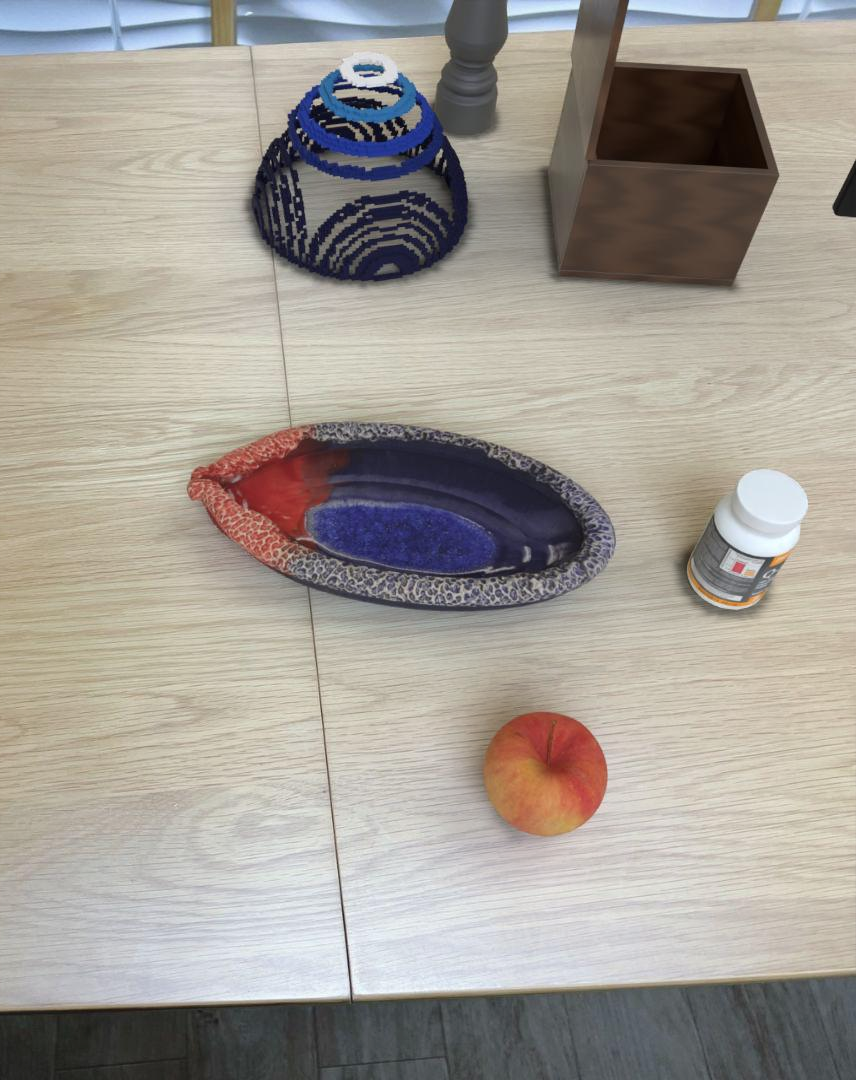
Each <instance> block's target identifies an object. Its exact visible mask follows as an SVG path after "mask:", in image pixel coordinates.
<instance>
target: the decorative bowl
mask: <svg viewBox="0 0 856 1080" xmlns="http://www.w3.org/2000/svg"><path fill="white" fill-rule="evenodd" d="M361 63H365V64H361ZM399 71H400V70H399V68H398V66H397V64H396V62H395V60H394V59H391V58H390V56H389V55H388V54H385V53H378V52H371V51H362V52H354V53H351V55H349V57H342V58H341V63H340V65H338V68H337V69H334V71H330V72H329V73H328V74H327V75H325V77H323V78H322V79H320V83H319V84H316V85H315V86H311V90H309V91H306V92H305V93H304V97H302V99H300V101H299V103H297V105H295V108H294V109H290V113H287V119H288V120H287V121H286V125H287V128H286V129H285V130H284V132H282V133H280V134H281V135H280V137H275V138H273V140H272V141H271V142H270V143H269V145H268V146H267V147H268V148H267V149H266V151H265V153H264V155H263V156H262V161H261V162H260V165H259V166H258V168H257V169H258V170H257V171H256V175H255V182H254V193H253V194H252V198H251V209H252V212H253V215H254V219H255V222H256V224H257V227H258V230H259V233H260V237H261V239H262V241H263V240H265V242H266V245H267V246H270V249H274V252H275V254H279V257H280V258H282V257H283V259H286V261H287V262H288V263H289V262H290V263H291V264H294V265H295V266H296V265H297V267H298V269H303V268H304V269H305V270H308V272H309V273H310V274H311V273H315V274H317V275H318V274H319V276H323V278H326V277H329V278H330V279H332V278H335V279H336V280H339V281H348V280H351V281H352V282H355V281H361V282H362V283H363V282H370V281H373V282H374V283H376V282H381V281H388V280H389V281H390V280H396V279H397V280H398V279H403V278H404V276H410V275H414V273H417V272H422V270H424V269H428V268H432V266H434V264H435V263H436V264H437V263H438V262H439V261H442V260H443V259H444V258H445V257H446V256H447V254H450V253H452V251H453V250H454V247H456V246H458V244H459V243H460V239H461V238H462V236H463V235H464V231H465V229H466V225H467V224H468V219H469V218H468V214H469V213H468V212H469V208H468V205H469V195H468V190H467V189H468V188H467V181H466V180H465V179H466V177H465V171H464V169H463V168H462V165H461V161H460V158H459V156H458V154H457V152H456V150H455V149H454V148H453V146H452V144H451V142H450V141H449V138H448V136H447V134H444V131H445V130H444V129H443V127H442V125H441V123H440V121H439V119H438V117H437V116H436V114H435V112H434V110H433V109H432V108H431V105H430V103H429V102H428V100H427V98H426V96H424V95H423V94H422V93H421V91H420V92H419V91H418V90H417V87H416V85H415V83H414V81H410V80H409V78H408V77H407V76H404V74H403V72H399ZM359 72H373V73H364V74H361V73H359ZM375 73H380V74H375ZM339 83H343V84H339ZM344 83H345V84H344ZM390 85H392V87H391V86H390ZM394 87H395V88H394ZM353 89H357V90H359V91H368V92H373V91H374V92H375V93H378V94H385V93H387V94H388V95H391V96H396V95H397V97H398V98H399V99H397V101H395V103H393V105H388V104H383V101H382V100H376V99H375V98H374V97H373V98H366V97H358V96H357V95H355V96H347V97H337V95H334V94H336V93H337V91H344V90H345V91H346V90H353ZM319 99H321V101H322V102H320V104H314V101H316V100H319ZM415 106H417V107H419V108H420V110H421V112H420V116H421V117H420V121H417V122H416V124H415V127H413V128H410V129H409V128H408V125H407V124H406V120H405V119H403V117H404V115H405V114H407V115H408V114H409V112H411V110H413V108H415ZM393 121H394V122H393ZM361 122H363V124H365V125H366V126H368V128H370V129H371V130H372V135H371V133H370V132H368V128H366V127H365V126H363V124H361ZM381 123H383V125H384V126H385V129H386V130H387V131H388V132H389V133H390V137H392V138H389V137H388V135H386V134H385V133H383V132H384V127H383V126H381ZM343 124H347V125H343ZM348 124H349V125H348ZM334 125H335V126H334ZM336 125H338V126H336ZM339 125H340V126H339ZM394 125H396V126H397V127H399V129H402V130H401V132H400V131H399V130H398V129H396V126H394ZM328 126H331V127H328ZM349 126H351V127H349ZM351 128H353V129H354V130H358V134H361V136H363V140H358V138H356V135H357V133H356V131H354V130H353V129H351ZM298 129H301V130H299V132H297V131H298ZM399 132H400V133H399ZM399 134H400V135H399ZM373 137H374V140H373ZM311 141H312V143H311ZM290 143H291V146H289V144H290ZM308 146H309V149H308ZM413 149H414V150H413ZM441 150H442V152H441ZM326 151H327V152H328V151H329V152H333V153H334V154H335V153H340V154H344V156H349V155H350V156H351V157H356V156H357V157H358V158H365V157H367V158H368V159H372V158H380V157H388V156H399V157H404V158H406V159H405V161H401V162H400V166H397V164H389V165H383V166H375V167H371V170H366V167H365V166H360V167H359V165H352V164H343V165H340V164H339V163H338V161H337V162H335V161H334V162H328V159H321V158H320V155H319V154H324V153H325V152H326ZM413 151H414V155H413ZM419 152H420V153H419ZM297 153H298V155H296V154H297ZM440 153H441V157H440V158H438V163H437V166H435V165H436V160H437V156H438V154H440ZM278 157H279V159H278ZM298 160H304V164H305V165H308V166H309V167H313V168H316V169H317V171H318V172H319V171H320V172H321V173H325V174H327V175H329V176H332V177H333V178H334V177H339V179H340V178H343V180H351V179H353V181H357V180H359V181H360V182H364V181H365V182H366V181H369V182H370V183H373V182H380V181H387V180H395V179H401V178H402V177H403V176H409V175H410V173H417V172H418V170H419V171H420V170H422V169H423V168H425V167H426V168H427V169H430V171H431V172H434V174H435V175H436V176H439V177H440V178H443V181H444V182H445V184H446V186H447V188H448V189H450V190H451V192H453V194H451V198H450V201H451V202H452V207H451V209H452V211H453V212H452V214H451V218H452V220H451V219H450V218H449V216H450V212H449V211H447V210H446V209H445V208H444V207H440V205H439V203H437V202H436V200H432V197H431V196H428V197H427V193H426V192H420V193H419V192H418V191H417V190H416V191H410V190H409V189H404V190H399V191H398V192H396V193H389V194H382V195H374V196H371V195H370V194H367V195H361V196H360V197H359V198H356V199H354V201H353V203H354V204H352V202H346V203H344V205H343V206H341V208H340V209H335V212H332V215H329V218H326V220H325V221H323V223H322V224H320V226H317V232H314V236H313V237H311V238H310V240H311V241H310V242H308V245H307V247H308V252H306V240H309V237H308V229H307V227H305V226H308V225H307V224H308V223H307V218H306V213H305V211H306V209H305V208H306V206H305V202H304V201H305V200H304V199H303V191H302V188H300V187H299V188H298V183H300V177H299V172H298V170H297V168H296V169H294V168H293V165H292V164H293V163H294V162H298ZM444 164H446V165H445V167H444ZM284 168H288V169H289V174H290V178H291V181H292V187H293V192H294V195H293V196H292V191H291V188H290V184H289V178H288V175H287V174H284V173H283V170H282V169H284ZM443 169H444V170H443ZM276 173H277V174H278V175H279V181H280V183H279V184H278V181H277V178H276V176H275V174H276ZM268 183H269V188H270V191H271V197H272V202H273V206H271V207H270V202H269V196H268V193H267V191H266V185H267V184H268ZM283 185H284V186H285V187H283ZM277 191H279V192H277ZM261 194H262V196H261ZM261 197H263V200H264V204H265V205H264V206H265V211H266V215H267V224H268V230H269V231H268V233H269V235H268V233H267V229H265V227H266V226H265V225H266V224H265V218H264V214H263V213H264V212H263V207H262V205H261V203H260V200H261ZM412 197H413V198H412ZM297 199H299V201H297ZM404 200H405V203H406V204H411V205H412V206H417V208H422V207H423V208H424V207H425V211H426V212H428V214H432V213H433V215H434V216H435V220H440V224H439V223H436V222H435V221H434V220H433V219H431V218H430V217H428V215H425V212H424V211H418V210H417V209H411V205H405V204H404V203H402V201H404ZM280 201H281V202H280ZM279 202H280V203H281V206H282V211H283V218H284V223H285V224H287V225H284V226H285V228H284V229H285V235H283V230H282V223H281V216H280V211H279ZM396 203H402V204H396ZM388 204H390V205H388ZM391 204H393V205H391ZM291 205H293V211H294V212H291V211H292V210H291ZM366 205H374V206H380V207H372V208H368V210H367V211H363V210H366V209H367V207H366ZM382 205H388V206H382ZM360 211H362V212H361V216H358V217H357V214H360ZM299 212H300V213H301V214H299ZM348 217H350V218H351V217H356V222H352V223H351V222H350V225H348V226H344V229H341V231H339V232H337V234H336V235H335V236H334V237H333V238H331V243H329V244H328V248H326V249H325V253H322V258H320V259H319V264H316V263H317V256H320V247H321V246H323V244H324V243H326V238H329V237H330V235H332V230H334V229H335V228H336V225H337V224H343V223H345V221H346V220H348ZM412 218H413V219H412ZM296 219H298V220H296ZM398 219H401V220H402V221H407V222H399V223H396V225H392V226H385V227H380V226H379V225H376V226H373V225H374V223H376V222H377V223H378V222H383V221H391V220H398ZM408 220H413V222H418V223H419V224H421V225H422V226H423V227H424V228H426V229H427V230H429V232H431V233H429V232H428V231H426V230H425V229H423V227H421V225H415V223H412V221H408ZM293 222H295V229H296V234H297V235H300V236H299V238H298V236H297V235H296V234H294V231H293V228H294V227H293ZM274 225H276V229H277V230H274ZM366 226H370V227H366ZM440 226H441V227H442V228H443V229H444V231H445V233H446V236H445V234H444V232H443V230H441V229H440ZM365 227H366V230H363V229H365ZM400 228H404V230H411V229H412V230H413V231H415V232H416V233H417V234H418V236H419V235H420V236H421V237H422V238H424V237H426V238H425V242H423V240H421V239H420V238H418V236H415V237H413V235H411V234H410V233H403V234H396V233H395V232H396V231H398V230H399V229H400ZM361 229H362V230H361ZM359 230H360V233H358V232H359ZM394 231H395V232H394ZM301 232H302V233H301ZM372 232H379V233H381V234H382V233H385V234H382V237H374V238H373V237H372V238H368V239H367V241H366V240H365V236H369V235H371V233H372ZM388 232H393V233H388ZM356 233H357V236H354V235H355V234H356ZM386 233H387V234H386ZM431 234H433V235H431ZM275 236H277V237H275ZM350 236H352V237H351V239H349V237H350ZM286 238H287V239H286ZM434 238H435V239H434ZM346 239H349V240H348V243H347V245H343V242H346V241H347V240H346ZM359 239H363V240H360V244H359V245H358V247H356V248H355V250H352V253H349V254H348V253H347V250H350V248H353V245H355V244H356V242H359ZM295 240H296V241H297V252H298V255H295V249H293V248H294V247H295ZM396 240H397V241H398V240H402V241H403V242H405V243H406V244H411V245H413V247H414V248H416V249H418V251H419V252H420V254H421V256H423V257H424V258H425V261H424V262H423V264H420V261H421V260H420V259H421V258H420V255H418V254H417V253H416V250H415V249H414V248H412V249H410V247H407V245H405V244H404V243H398V244H389V245H383V246H378V243H383V242H390V241H396ZM283 241H286V242H283ZM275 243H278V245H275ZM436 243H438V244H437V245H438V247H439V251H438V247H437V246H436ZM341 244H342V246H341V248H339V249H338V255H337V256H335V260H334V261H332V268H331V267H330V266H331V259H330V258H333V257H334V255H336V254H337V245H341ZM426 244H428V246H430V250H431V251H432V253H431V252H430V251H429V249H428V247H427V245H426ZM319 246H320V247H319ZM372 246H377V247H376V249H372ZM367 249H372V250H370V252H368V253H367V255H364V256H361V260H360V261H358V264H357V265H358V266H355V268H354V273H352V274H350V266H354V261H356V260H357V258H360V255H363V253H364V252H366V250H367ZM345 253H347V254H345ZM344 254H345V256H344ZM303 255H304V260H303ZM340 259H342V260H341V263H342V264H339V263H340ZM314 264H315V265H314ZM337 264H339V265H338V271H339V272H338V271H337ZM391 264H393V265H394V266H396V268H398V269H399V271H397V272H396V271H395V272H388V273H382V274H377V272H378V271H380V270H381V268H384V266H385V265H391ZM334 271H335V272H334ZM336 271H337V272H336ZM375 274H377V275H375Z"/></svg>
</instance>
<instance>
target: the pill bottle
mask: <svg viewBox="0 0 856 1080" xmlns="http://www.w3.org/2000/svg"><path fill="white" fill-rule="evenodd" d="M808 499H809V498H808V496H807V493H806V491H805V490H804V488H803V486H801V484H800V483H798V481H796V480H795V479H794V478H793V477H791V476H789V475H787V474H785V473H783V472H781V471H778V470H774V469H768V468H760V469H753V470H750V471H748V472H746V473H744V474H743V475H742V476H741V477H740V478H739V479H738V481H737V482H736V484H735V486H734V487H733V490H732V492H729V493H727V494H726V495H725V496H724V497H722V498H721V499H720V501H719V502H718V503H717V505H716V507H714V510H713V512H712V514H711V516H710V517H709V520H708V522H707V523H706V526H705V527H704V530H703V531H702V533H701V536H700V538H699V540H698V541H697V543H696V545H695V547H694V549H693V550H692V552H691V555H690V557H689V559H688V562H687V566H686V567H687V568H686V575H687V579H688V581H689V584H690V586H691V587H692V589H693V591H694V592H695V593H696V594H697V595H698V596H699V597H700V598H701V599H703V600H704V601H706V602H707V603H709V604H711V605H713V606H715V607H718V608H720V609H725V610H742V609H747V608H749V607H751V606H754V605H756V604H757V603H758V602H759V601H760V600H761V599H762V598H763V596H764V595H765V594H766V592H767V591H768V589H769V587H770V585H771V584H772V582H773V581H774V580H775V578H776V576H777V575H778V573H779V571H781V569H782V568H783V566H784V564H785V563H786V561H787V560H788V558H789V557H790V555H791V553H792V551H793V550H794V549H795V547H796V545H797V543H798V542H799V539H800V536H801V522H803V519H804V518H805V516H806V514H807V512H808V508H809V500H808Z"/></svg>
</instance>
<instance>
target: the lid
mask: <svg viewBox="0 0 856 1080" xmlns="http://www.w3.org/2000/svg"><path fill="white" fill-rule="evenodd" d="M629 4H630V0H580V2H579V7H578V12H577V13H578V14H577V17H576V23H575V29H574V34H573V39H572V45H571V50H570V61H571V68H573V76H574V83H575V90H576V97H577V104H578V112H579V119H580V126H581V133H582V141H583V148H584V155H585V160H594V156H595V151H596V147H597V142H598V138H599V133H600V129H601V124H602V120H603V116H604V111H605V107H606V102H607V98H608V93H609V89H610V84H611V80H612V75H613V71H614V66H615V62H616V61H617V58H618V53H619V48H620V44H621V39H622V35H623V31H624V27H625V26H624V25H625V21H626V18H627V13H628V9H629Z"/></svg>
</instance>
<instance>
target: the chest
mask: <svg viewBox="0 0 856 1080" xmlns="http://www.w3.org/2000/svg"><path fill="white" fill-rule="evenodd" d="M749 73H750V72H749V70H748V68H740V67H723V66H704V65H690V64H689V65H687V64H671V63H670V64H669V63H652V62H633V61H617V60H616V62H615V66H614V71H613V75H612V80H611V84H610V89H609V93H608V98H607V102H606V107H605V111H604V116H603V120H602V124H601V129H600V133H599V138H598V142H597V147H596V151H595V156H594V160H585V155H584V148H583V141H582V133H581V126H580V119H579V112H578V104H577V97H576V90H575V83H574V76H573V68H572V67H571V68H570V73H569V77H568V80H567V81H568V82H567V86H566V89H565V95H564V99H563V103H562V107H561V112H560V116H559V121H558V124H557V130H556V133H555V138H554V143H553V147H552V151H551V157H550V160H549V166H548V169H547V176H548V186H549V196H550V205H551V215H552V223H553V231H554V232H553V234H554V243H555V253H556V262H557V272H558V277H562V278H563V277H564V278H581V279H598V280H612V281H614V280H615V281H632V282H646V283H647V282H648V283H663V284H665V283H668V284H683V285H684V284H685V285H698V286H699V285H700V286H715V287H716V286H718V287H733V286H734V283H735V280H736V278H737V275H738V273H739V272H740V268H741V267H742V263H743V261H744V260H745V256H746V254H747V253H748V250H749V248H750V245H751V244H752V240H753V238H754V236H755V235H756V234H755V233H756V231H757V229H758V227H759V224H760V223H761V220H762V218H763V216H764V213H765V210H766V208H767V206H768V203H769V202H770V199H771V196H772V195H773V192H774V189H775V187H776V185H777V182H778V180H779V178H780V172H779V168H778V165H777V162H776V159H775V155H774V151H773V149H772V144H771V141H770V139H769V136H768V132H767V129H766V126H765V123H764V119H763V115H762V113H761V109H760V106H759V102H758V99H757V96H756V93H755V89H754V87H753V83H752V80H751V76H750V74H749Z"/></svg>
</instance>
